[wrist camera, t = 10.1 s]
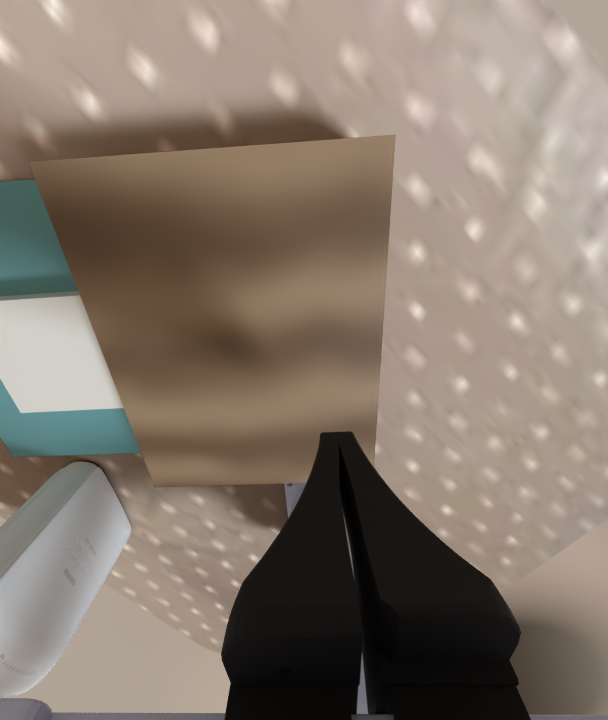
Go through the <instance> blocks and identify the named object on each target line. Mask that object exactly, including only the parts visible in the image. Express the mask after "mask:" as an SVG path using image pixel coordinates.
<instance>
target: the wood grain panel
mask: <svg viewBox="0 0 608 720" xmlns="http://www.w3.org/2000/svg"><path fill="white" fill-rule="evenodd" d="M394 150H395V135H386V136H373V137H359V138H345V139H332V140H318V141H305V142H291V143H277V144H264V145H250V146H236V147H223V148H209V149H196V150H182V151H168V152H155V153H141V154H127V155H114V156H100V157H87V158H73V159H59V160H46V161H32V162H28V163H29V166H30V169H31V171H32V174H33V176H34V179H35V181H36V184H37V186H38V189H39V192H40V194H41V197H42V199H43V202H44V204H45V207H46V210H47V212H48V215H49V217H50V220H51V222H52V225H53V228H54V230H55V233H56V235H57V238H58V240H59V243H60V246H61V248H62V251H63V253H64V256H65V258H66V261H67V263H68V266H69V269H70V271H71V274H72V276H73V279H74V281H75V284H76V287H77V289H78V292H79V294H80V297H81V299H82V302H83V305H84V307H85V310H86V312H87V315H88V317H89V320H90V322H91V325H92V328H93V330H94V333H95V335H96V338H97V340H98V343H99V346H100V348H101V351H102V353H103V356H104V358H105V361H106V364H107V366H108V369H109V371H110V374H111V376H112V379H113V381H114V384H115V387H116V389H117V392H118V394H119V397H120V399H121V402H122V405H123V407H124V410H125V412H126V415H127V417H128V420H129V423H130V425H131V428H132V430H133V433H134V435H135V438H136V440H137V443H138V446H139V448H140V451H141V453H142V456H143V458H144V461H145V464H146V466H147V469H148V471H149V474H150V476H151V479H152V482H153V484H154V487H174V486H212V485H249V484H286V483H306V482H307V480H308V478H309V475H310V473H311V470H312V467H313V464H314V461H315V458H316V455H317V451H318V446H319V440H320V434H321V433H322V432H347V431H351V432H352V433H354V435H355V437H356V439H357V441H358V443H359V445H360V447H361V448H362V450H363V452H364V453H365V455H366V456H367V458H368V459H369V461H370V462H371V464H372V465H373V467H374V457H375V441H376V426H377V411H378V395H379V380H380V365H381V349H382V334H383V319H384V303H385V288H386V273H387V257H388V242H389V227H390V211H391V196H392V181H393V165H394Z"/></svg>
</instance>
